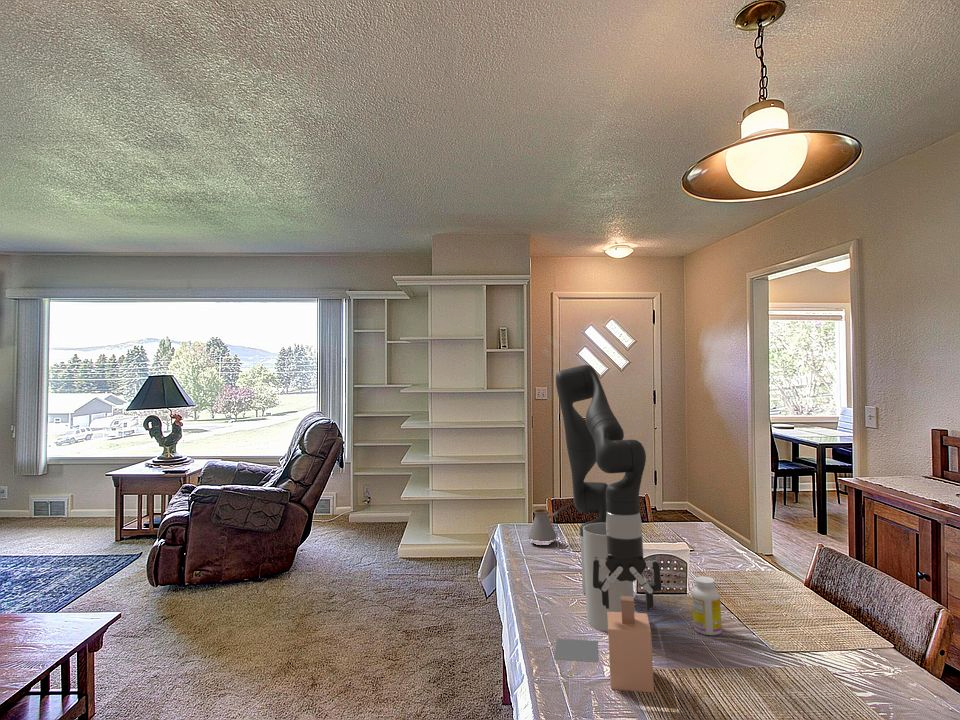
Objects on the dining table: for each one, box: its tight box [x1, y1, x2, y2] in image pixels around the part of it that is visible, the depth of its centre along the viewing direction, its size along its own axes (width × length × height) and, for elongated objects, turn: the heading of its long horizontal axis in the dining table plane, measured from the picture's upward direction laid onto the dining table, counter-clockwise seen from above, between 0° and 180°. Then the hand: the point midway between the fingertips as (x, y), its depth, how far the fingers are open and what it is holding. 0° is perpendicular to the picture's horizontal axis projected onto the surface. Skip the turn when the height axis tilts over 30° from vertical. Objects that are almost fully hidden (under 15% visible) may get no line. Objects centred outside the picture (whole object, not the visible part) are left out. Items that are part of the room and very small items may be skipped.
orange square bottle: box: [607, 596, 655, 693], centre depth 114 cm, size 9×9×18 cm
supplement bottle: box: [691, 575, 723, 636], centre depth 136 cm, size 7×7×13 cm
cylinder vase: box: [583, 523, 636, 633], centre depth 142 cm, size 12×12×25 cm
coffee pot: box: [527, 501, 575, 541], centre depth 215 cm, size 21×12×15 cm, turn 108°
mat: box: [553, 638, 599, 663], centre depth 127 cm, size 10×10×1 cm
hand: (627, 608), depth 114 cm, fingers open, 8 cm apart
